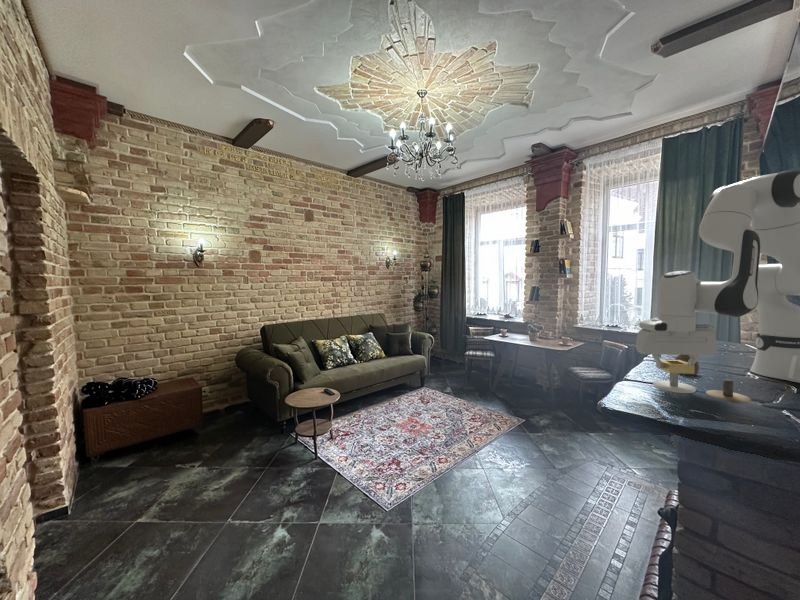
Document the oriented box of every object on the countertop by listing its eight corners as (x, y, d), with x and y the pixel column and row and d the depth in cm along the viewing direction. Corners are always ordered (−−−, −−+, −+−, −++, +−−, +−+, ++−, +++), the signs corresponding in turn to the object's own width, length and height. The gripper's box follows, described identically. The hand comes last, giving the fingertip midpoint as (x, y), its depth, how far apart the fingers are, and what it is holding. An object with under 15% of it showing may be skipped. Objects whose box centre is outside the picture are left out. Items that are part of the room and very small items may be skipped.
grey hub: (686, 388, 101) (686, 366, 100) (702, 399, 92) (703, 376, 91) (648, 385, 104) (648, 364, 104) (660, 395, 95) (660, 373, 95)
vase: (704, 379, 108) (704, 354, 107) (680, 379, 109) (681, 354, 109) (689, 373, 115) (690, 350, 114) (668, 373, 116) (668, 349, 115)
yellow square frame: (679, 367, 100) (679, 359, 100) (694, 373, 94) (694, 365, 93) (656, 367, 101) (656, 359, 101) (669, 373, 95) (670, 364, 95)
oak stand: (738, 396, 93) (739, 376, 92) (759, 408, 84) (760, 387, 84) (699, 393, 96) (700, 374, 96) (716, 404, 88) (716, 383, 87)
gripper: (707, 322, 98) (705, 366, 98) (633, 322, 101) (632, 364, 102) (724, 325, 91) (722, 372, 92) (645, 325, 95) (644, 370, 96)
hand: (674, 368), depth 97 cm, fingers closed on yellow square frame, 6 cm apart
